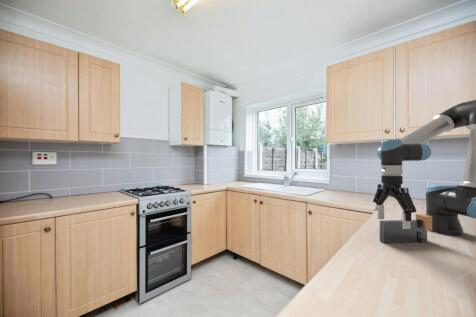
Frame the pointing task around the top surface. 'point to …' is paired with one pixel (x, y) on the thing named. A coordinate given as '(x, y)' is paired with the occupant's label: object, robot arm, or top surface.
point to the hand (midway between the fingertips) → (392, 223)
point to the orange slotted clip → (425, 221)
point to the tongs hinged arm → (398, 232)
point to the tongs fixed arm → (420, 230)
